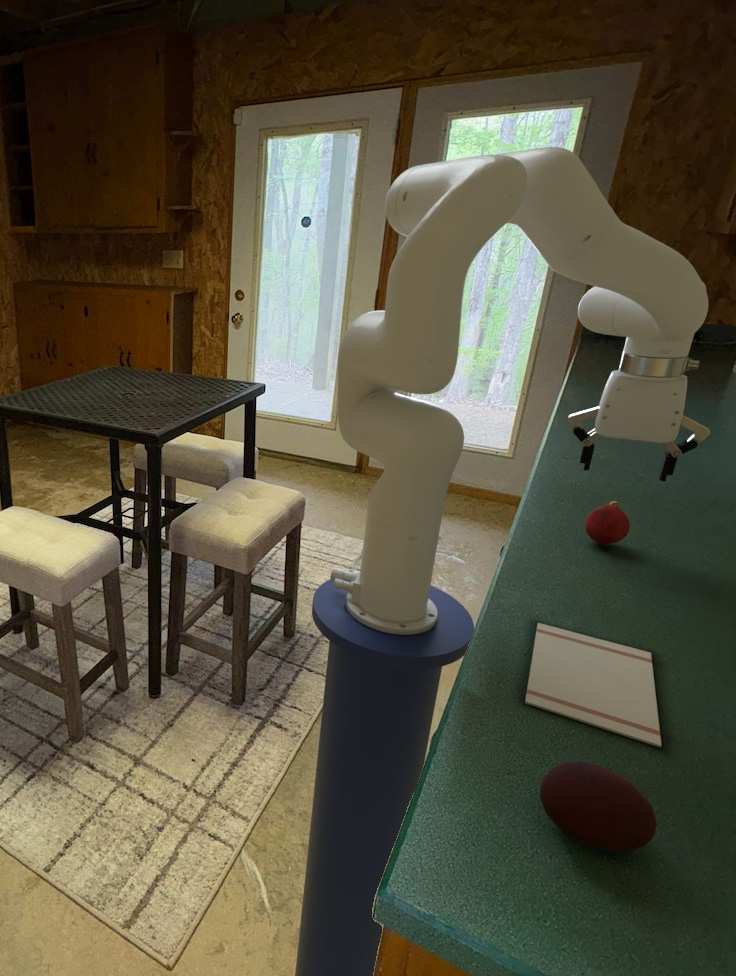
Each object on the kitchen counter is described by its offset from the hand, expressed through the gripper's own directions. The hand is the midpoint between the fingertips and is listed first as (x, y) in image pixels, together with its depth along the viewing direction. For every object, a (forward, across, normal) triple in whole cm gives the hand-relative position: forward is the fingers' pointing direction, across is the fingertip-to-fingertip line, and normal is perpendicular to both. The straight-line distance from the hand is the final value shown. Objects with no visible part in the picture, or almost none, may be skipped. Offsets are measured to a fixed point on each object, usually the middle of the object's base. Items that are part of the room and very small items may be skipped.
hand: (622, 473), depth 99 cm
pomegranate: (+13, 0, 0) cm, 13 cm away
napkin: (+12, +1, +40) cm, 42 cm away
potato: (+12, +1, +64) cm, 66 cm away
